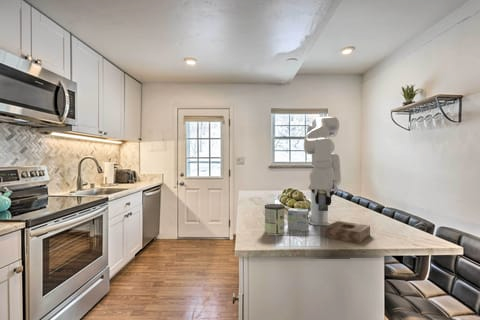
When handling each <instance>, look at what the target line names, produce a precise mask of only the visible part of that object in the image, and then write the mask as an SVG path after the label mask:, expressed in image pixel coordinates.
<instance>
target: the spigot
mask: <svg viewBox="0 0 480 320" xmlns="http://www.w3.org/2000/svg"><path fill="white" fill-rule="evenodd" d="M326 197H327V191H326V190H318V210H319V211H328V212H329V205H328V206H327V205H326Z"/></svg>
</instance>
